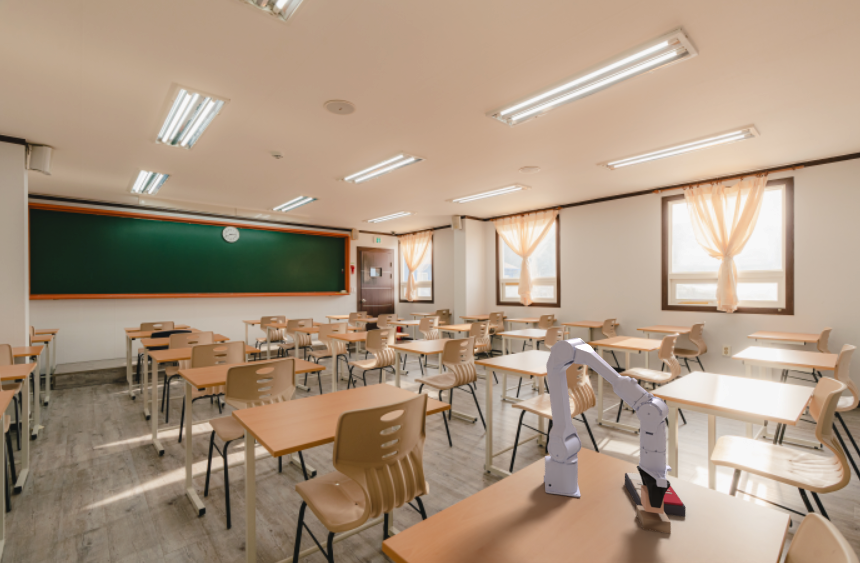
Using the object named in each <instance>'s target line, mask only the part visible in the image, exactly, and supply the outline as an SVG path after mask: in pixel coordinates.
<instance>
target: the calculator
mask: <svg viewBox="0 0 860 563" xmlns="http://www.w3.org/2000/svg"><path fill="white" fill-rule="evenodd" d="M624 485H626V486H625V488H626V489H627V491H628V492H629V494H630V496H631V498H632V499H633V502H634V504H635V506H636V505H640V506H642V504H641V485H643V483H642V479H641V476H640V473H633V472H625V473H624ZM664 512H665V514H666V515H667V516H668V515H670V516H674V517H675V516H678V517H686V505H685V504H684V503H683V501H682V500H681V499H680V497H679V496H678V494H677V492H676V491H675V489H674V488H673V487H672V485H671V484H670V487H669V488H668V490H667V491H666V493H665V495H664Z"/></svg>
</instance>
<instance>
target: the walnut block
mask: <svg viewBox="0 0 860 563" xmlns="http://www.w3.org/2000/svg"><path fill="white" fill-rule="evenodd" d="M635 506H636V517H637V520H638V522H639V523H640V525H641V528H642V530H645V531H652V532H659V533H667V534H671V532H672V528H671V526H672V525H671V524H672V523H671V520H670V519H669V517H668V515H667V514H665V512H664V514H661V513H653V512H646V511H645V509H644V508H643V506H640V505H636V504H635Z"/></svg>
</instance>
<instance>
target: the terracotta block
mask: <svg viewBox="0 0 860 563" xmlns="http://www.w3.org/2000/svg"><path fill="white" fill-rule="evenodd" d="M641 504H642V506H643V508H644V509H645V511H646V512H653V513H661V514H664V498H663V502H662V505H661V508H655V507H651V505H650V501H649V495H648V489H647V486H644V485H641Z"/></svg>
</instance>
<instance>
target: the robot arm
mask: <svg viewBox="0 0 860 563" xmlns="http://www.w3.org/2000/svg"><path fill="white" fill-rule="evenodd" d="M549 349H550V353H549V356H548V359H547V362H546V364H545V365H546V366H545V367H546V375H547V386H548V393H549V400H550V409H551V410H550V411H551V419H552V420H551V421H552V427H551V428H550V431H549V432H548V436H549V437H548V438H549V440H548V443H547V451H548V454H549V455H545V456H544V474H543V482H544V490H545V493H546V494H552V495H553V494H554V495H561V496H568V497H575V498H581V492H580V487H579V484H578V483H579V480H578V479H579V478H578V477H579V471H578V470H579V468H578V466H579V465H578V464H579V459H578V453H580V451H581V450H582V440H581V438H580V436H579V435H578V429H577V427H575V425H574V424H573V420H572V419H573V418H572V413H571V401H570V396H569V395H570V394H569V388H568V379H567V372H566V371H567V369H569V367H571V366H572V365H573V364H574V365H575V364H576V365H585V366H588V368H591V370H592V371H594V372H595V373H597V374H598V375H599V376H600V377H602V378H603V380H604V379H605V381H607V382H608V383H610V385H611V387H612V391H613V393H614V394H615V395H617V397H619V398H620V400H622V401H624V402H625V403H626V404H627V405H628V406H629V407H630V408H631V409H633V411H635V413H636V417H637V419H638V420H639V421H640V422H639V461H638V465H637V466H636V468H637V471H638V474H640V476H641V479H642V483H643V485H644V486H647V489H648V495H649V501H650V505H651V507H655V508H661V505H662V502H663V498H664V495H665V493H666V491H667V490H668V488H669V487H670V485H671V482H670V480H668V479H667V474H668V472H672V467H671V466H670V465H667V430H666V426H667V425H666V420H665V419H667V417H668V415H669V407H668V405H667V403H666V402H665V401H664V400H663V398H660V397H658V396H654V394H653V393H652V392H648V391H647V390H645V388H643V387H642V386H641V385H640V384H639V383H638V380H637V379H636V378H635V377H632V378H631V376H628V375H621V374H620V373H618V371H616V369H614V368H613V367H612V366H611V365H610V364H609V363H608V362H607V361H606V360H605V359H604V358H602V357H601V356H600V354H598V353H597V352H596V351H595V350H594V349H593V348H592V346H591V345H590V344H588V343H586V342H585V341H584V340H583V339H581V338H579V337H573V338H569V339H562V340H558V341H557V342H555V343H554V344H553V345H551V347H550V348H549Z"/></svg>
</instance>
